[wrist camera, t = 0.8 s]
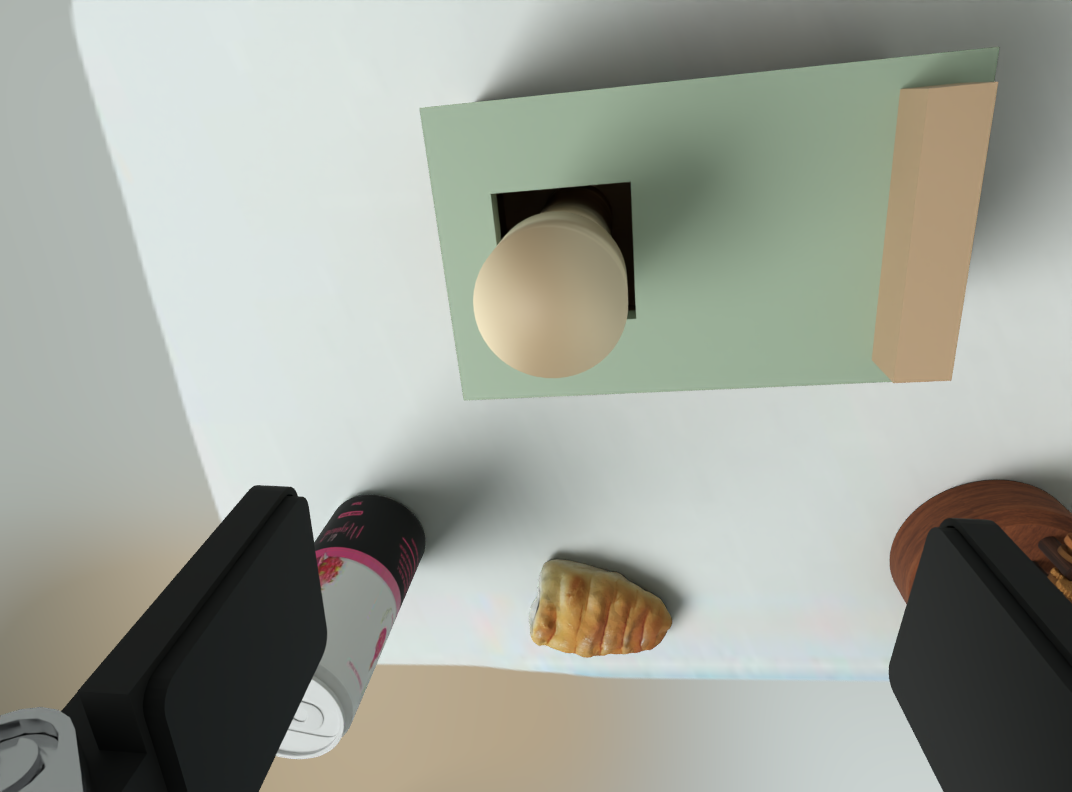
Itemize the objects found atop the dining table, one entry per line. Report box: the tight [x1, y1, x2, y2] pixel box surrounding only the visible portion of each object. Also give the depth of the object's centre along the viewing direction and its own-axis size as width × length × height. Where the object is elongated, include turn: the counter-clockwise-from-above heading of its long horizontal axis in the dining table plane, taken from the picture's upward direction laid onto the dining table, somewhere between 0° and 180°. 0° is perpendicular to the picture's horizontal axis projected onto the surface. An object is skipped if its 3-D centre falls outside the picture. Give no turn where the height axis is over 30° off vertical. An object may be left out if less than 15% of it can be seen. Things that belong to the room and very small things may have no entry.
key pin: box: [473, 185, 628, 378], centre depth 28 cm, size 5×5×16 cm
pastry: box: [529, 559, 672, 658], centre depth 45 cm, size 9×7×4 cm
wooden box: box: [496, 182, 636, 311], centre depth 32 cm, size 20×12×9 cm, turn 95°
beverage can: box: [276, 495, 425, 759], centre depth 40 cm, size 6×6×15 cm
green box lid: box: [420, 47, 1000, 400], centre depth 26 cm, size 20×12×4 cm, turn 95°
